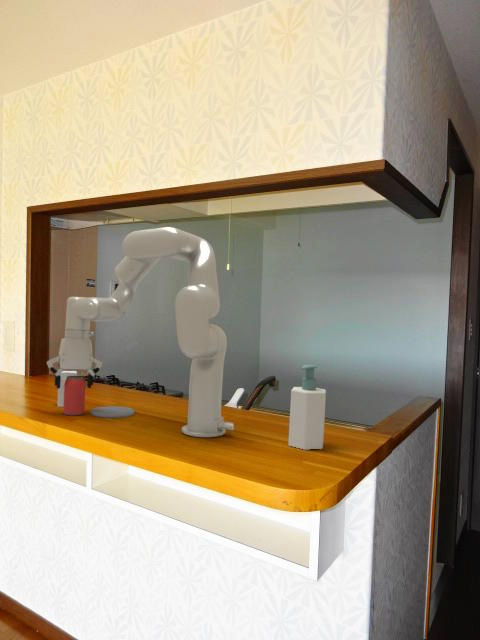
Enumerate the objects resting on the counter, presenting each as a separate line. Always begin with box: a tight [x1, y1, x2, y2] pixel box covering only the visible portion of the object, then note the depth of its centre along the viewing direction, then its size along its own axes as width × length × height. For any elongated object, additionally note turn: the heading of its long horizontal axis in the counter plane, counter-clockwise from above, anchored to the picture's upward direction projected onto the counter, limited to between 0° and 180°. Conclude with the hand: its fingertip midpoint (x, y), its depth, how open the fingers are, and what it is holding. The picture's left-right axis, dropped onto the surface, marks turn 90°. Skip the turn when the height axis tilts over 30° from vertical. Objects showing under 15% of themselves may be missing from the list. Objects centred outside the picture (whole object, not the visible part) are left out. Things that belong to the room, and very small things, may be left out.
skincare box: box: [57, 370, 78, 408], centre depth 172 cm, size 6×4×12 cm
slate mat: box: [90, 405, 135, 419], centre depth 164 cm, size 14×14×1 cm
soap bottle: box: [287, 364, 327, 451], centre depth 135 cm, size 10×9×22 cm
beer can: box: [62, 375, 87, 417], centre depth 160 cm, size 7×7×12 cm
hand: (73, 387), depth 160 cm, fingers open, 9 cm apart
